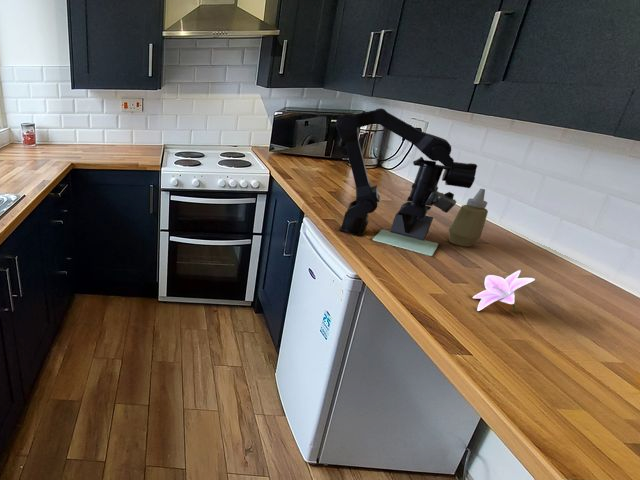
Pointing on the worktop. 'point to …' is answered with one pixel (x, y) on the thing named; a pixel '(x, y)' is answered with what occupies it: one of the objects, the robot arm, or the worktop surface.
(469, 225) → the squeeze bottle
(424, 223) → the bin
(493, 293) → the lily
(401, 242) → the mat
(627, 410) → the worktop surface
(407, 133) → the robot arm
